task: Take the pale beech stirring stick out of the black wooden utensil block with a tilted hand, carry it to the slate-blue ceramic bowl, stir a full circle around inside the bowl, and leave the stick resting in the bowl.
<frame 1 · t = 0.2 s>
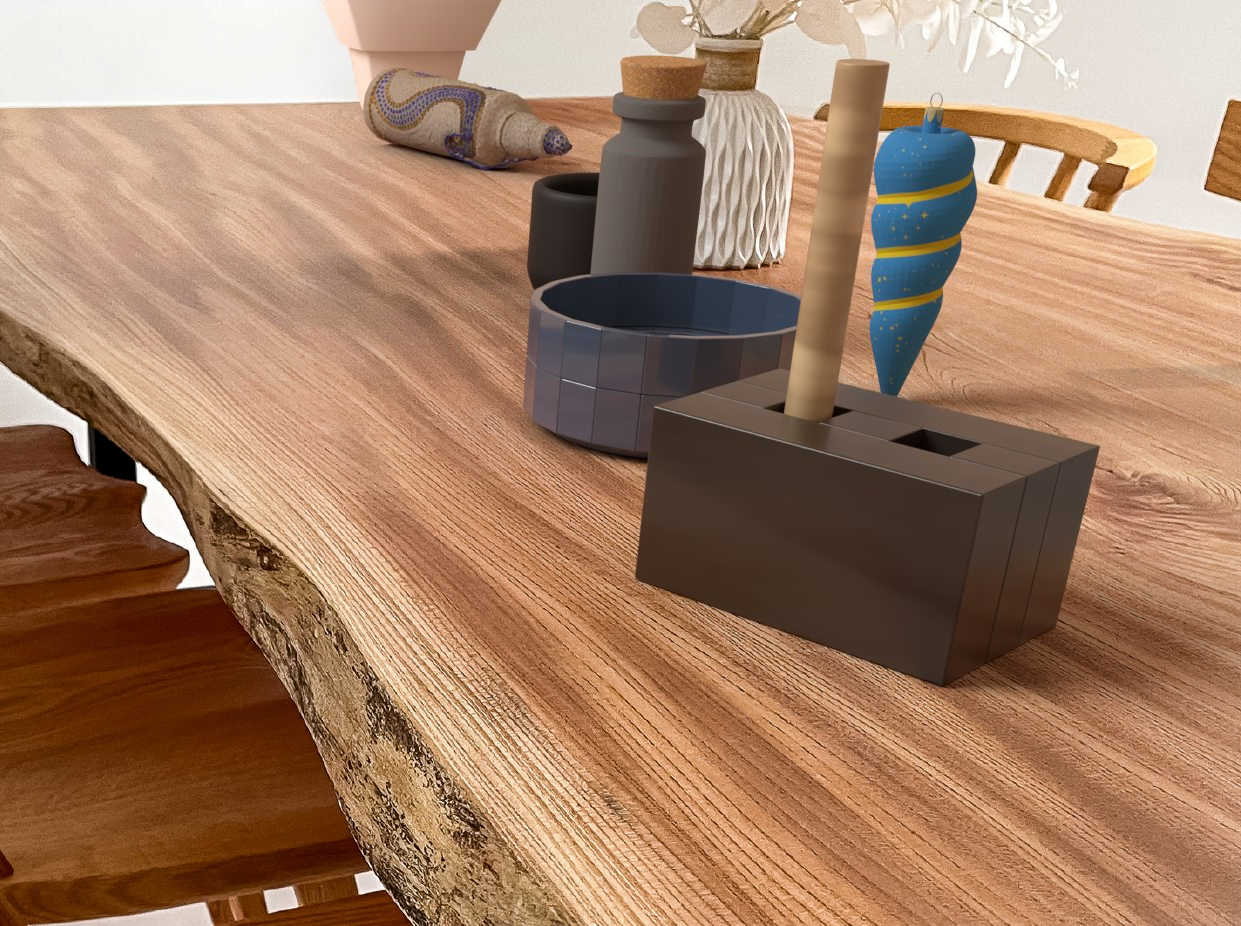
utensil block: (839, 602, 68), on the table
stirring stick: (781, 583, 70), resting in utensil block
bottle: (633, 341, 104), on the table, touching mug
decorative bottle: (457, 163, 158), on the table
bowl: (403, 121, 181), on the table
ornament: (884, 403, 93), on the table
mixing bowl: (661, 424, 89), on the table
mug: (598, 312, 110), on the table, touching bottle
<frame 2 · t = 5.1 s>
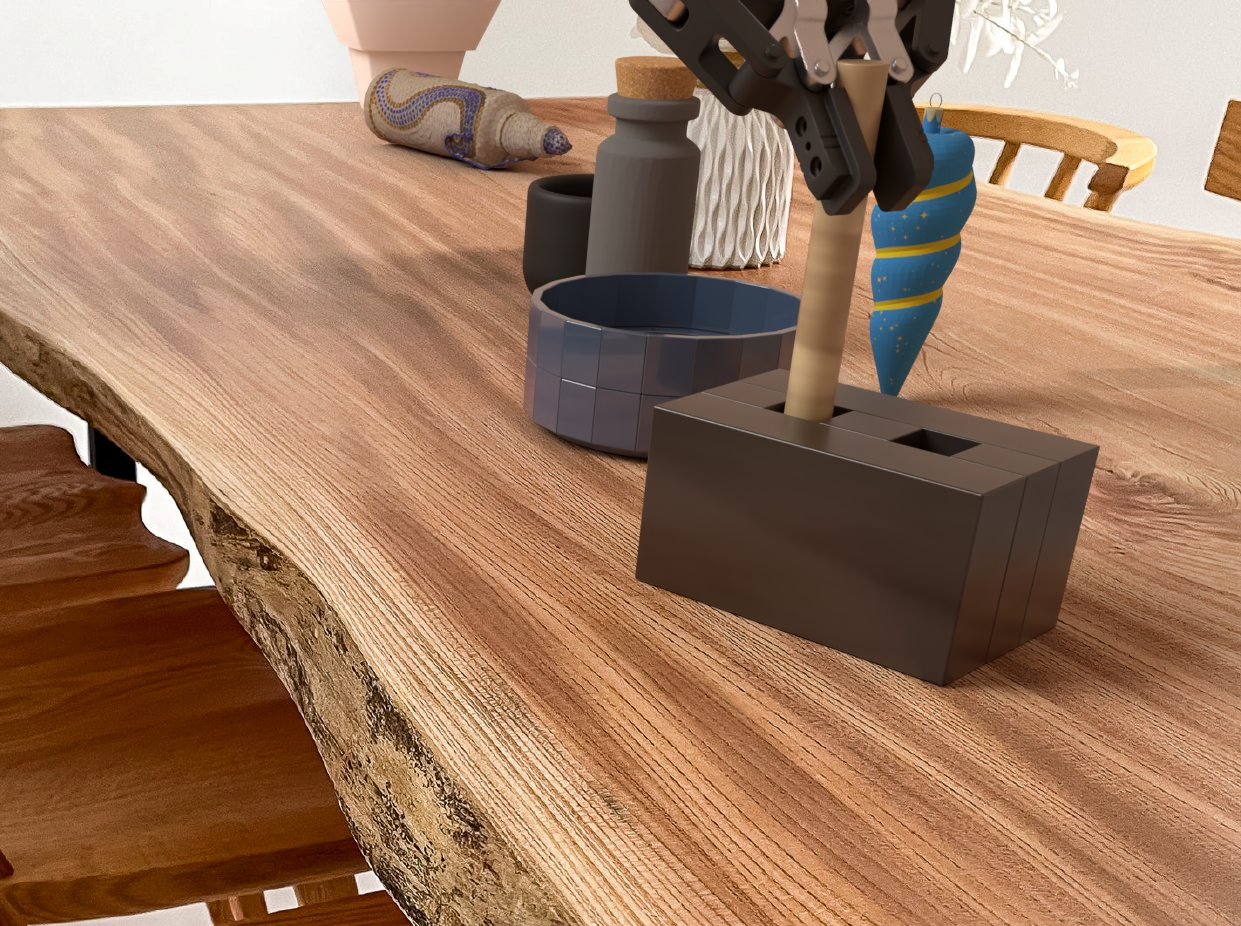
hand: (881, 197, 61), 15 cm above the table, tool tilted 45°, fingers closed on stirring stick, 2 cm apart
stirring stick: (781, 583, 70), resting in utensil block, touching gripper
bottle: (629, 342, 103), on the table, touching mug
mug: (594, 314, 110), on the table, touching bottle
everything else where it was.
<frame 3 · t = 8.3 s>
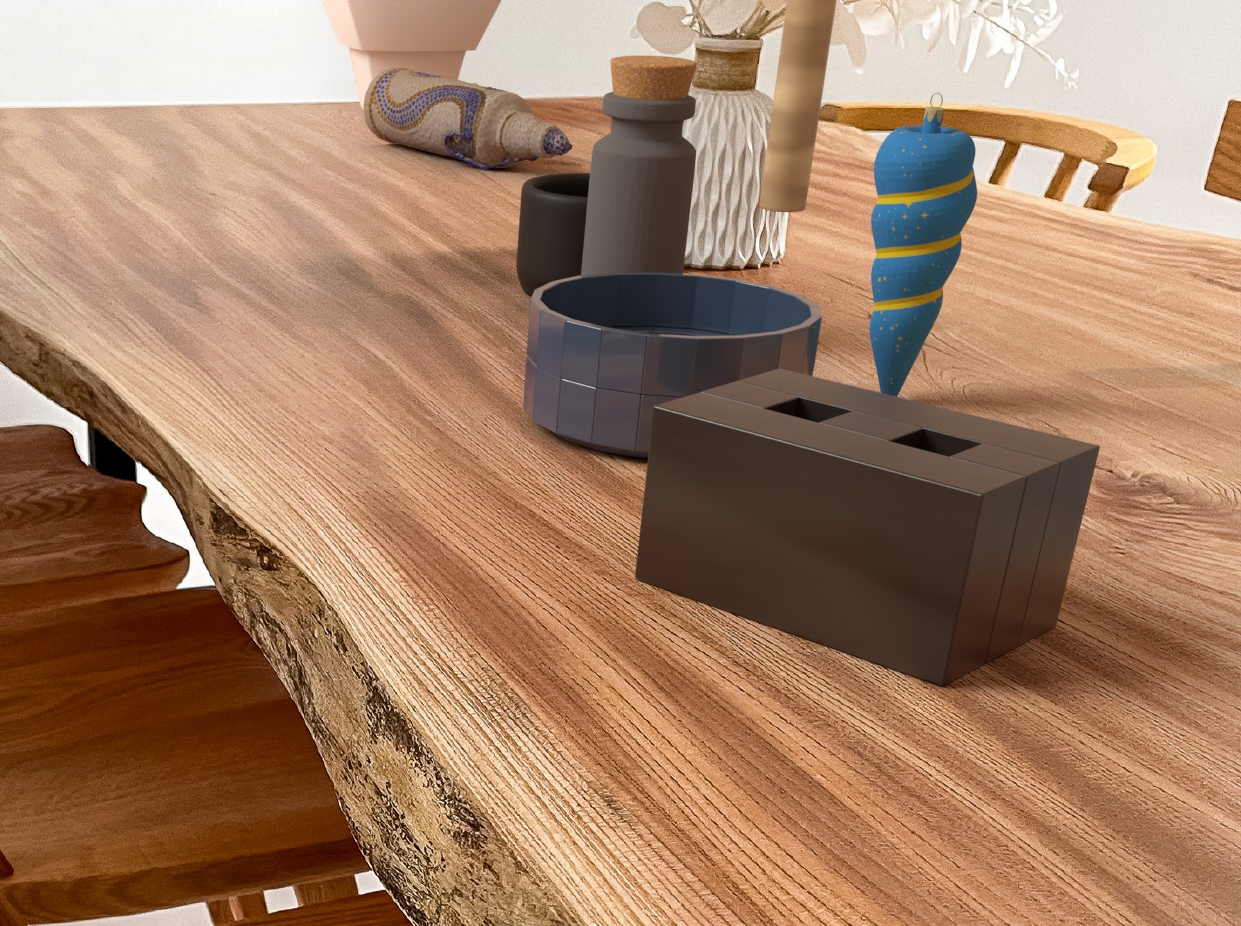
stirring stick: (781, 208, 69), point 13 cm above the table, touching gripper
bottle: (624, 341, 104), on the table, touching mug
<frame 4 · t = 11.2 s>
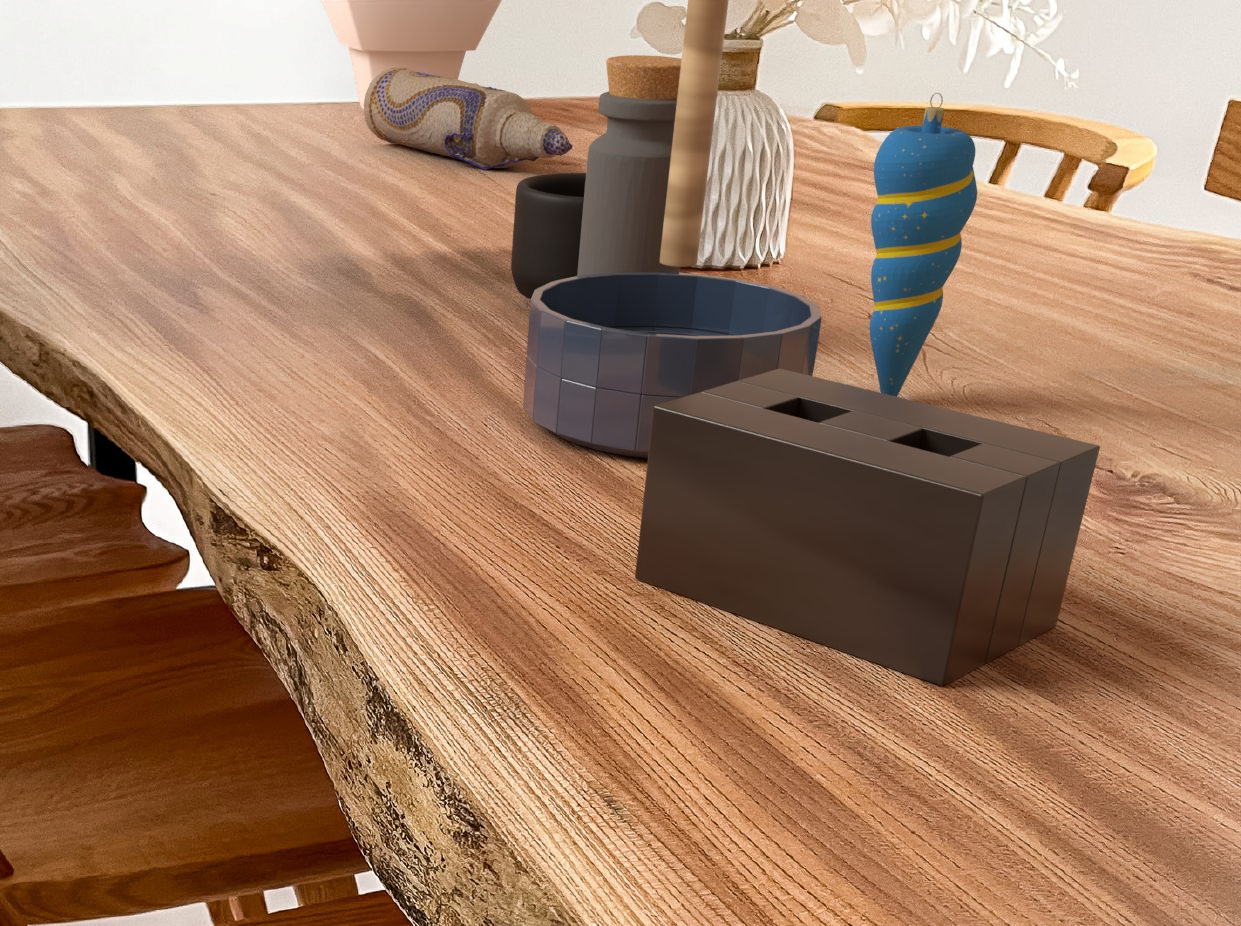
stirring stick: (678, 263, 85), point 8 cm above the table, touching gripper
bottle: (621, 341, 104), on the table, touching mug
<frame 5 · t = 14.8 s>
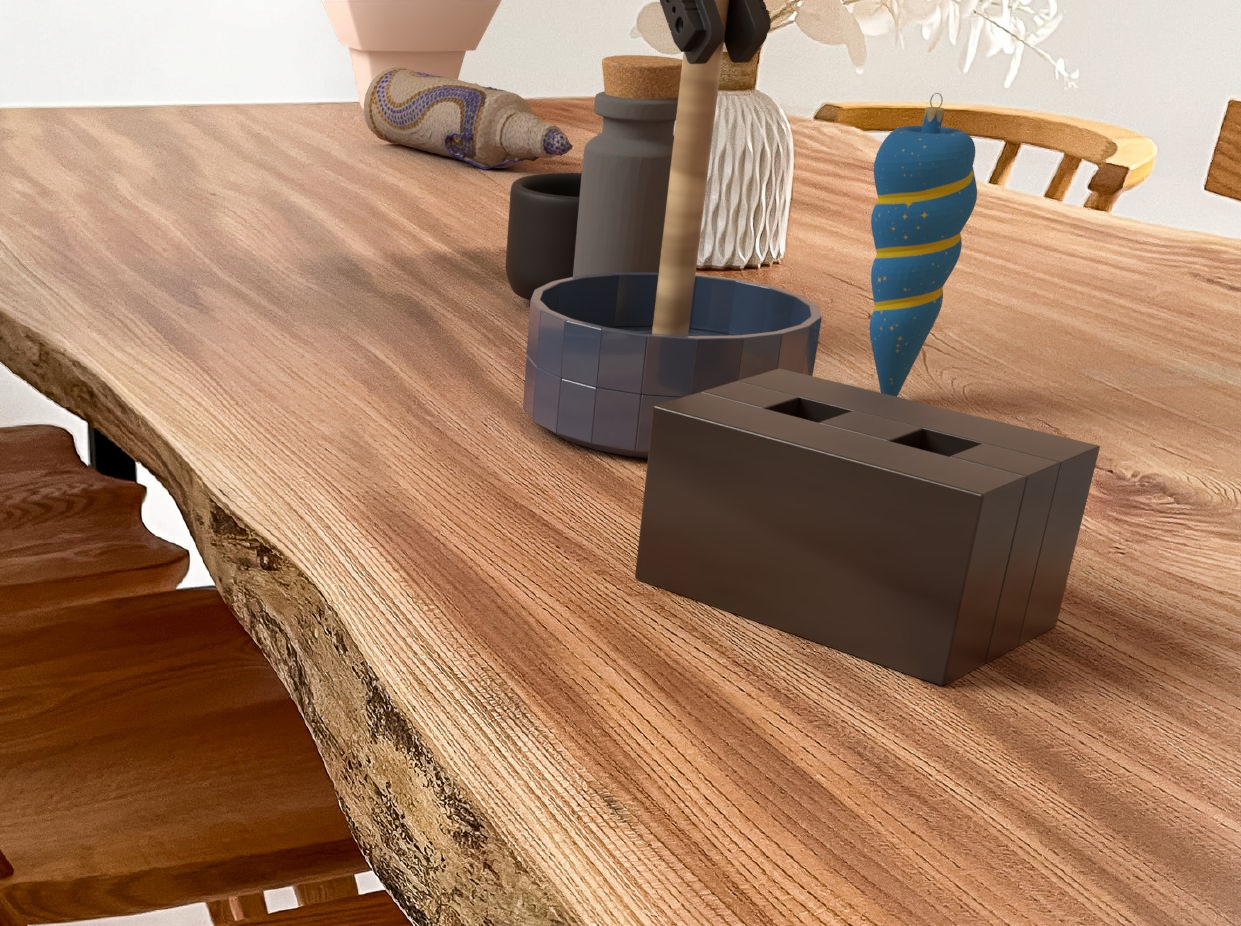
hand: (730, 50, 80), 17 cm above the table, tool tilted 45°, fingers closed on stirring stick, 2 cm apart
stirring stick: (666, 368, 89), point 2 cm above the table, touching gripper
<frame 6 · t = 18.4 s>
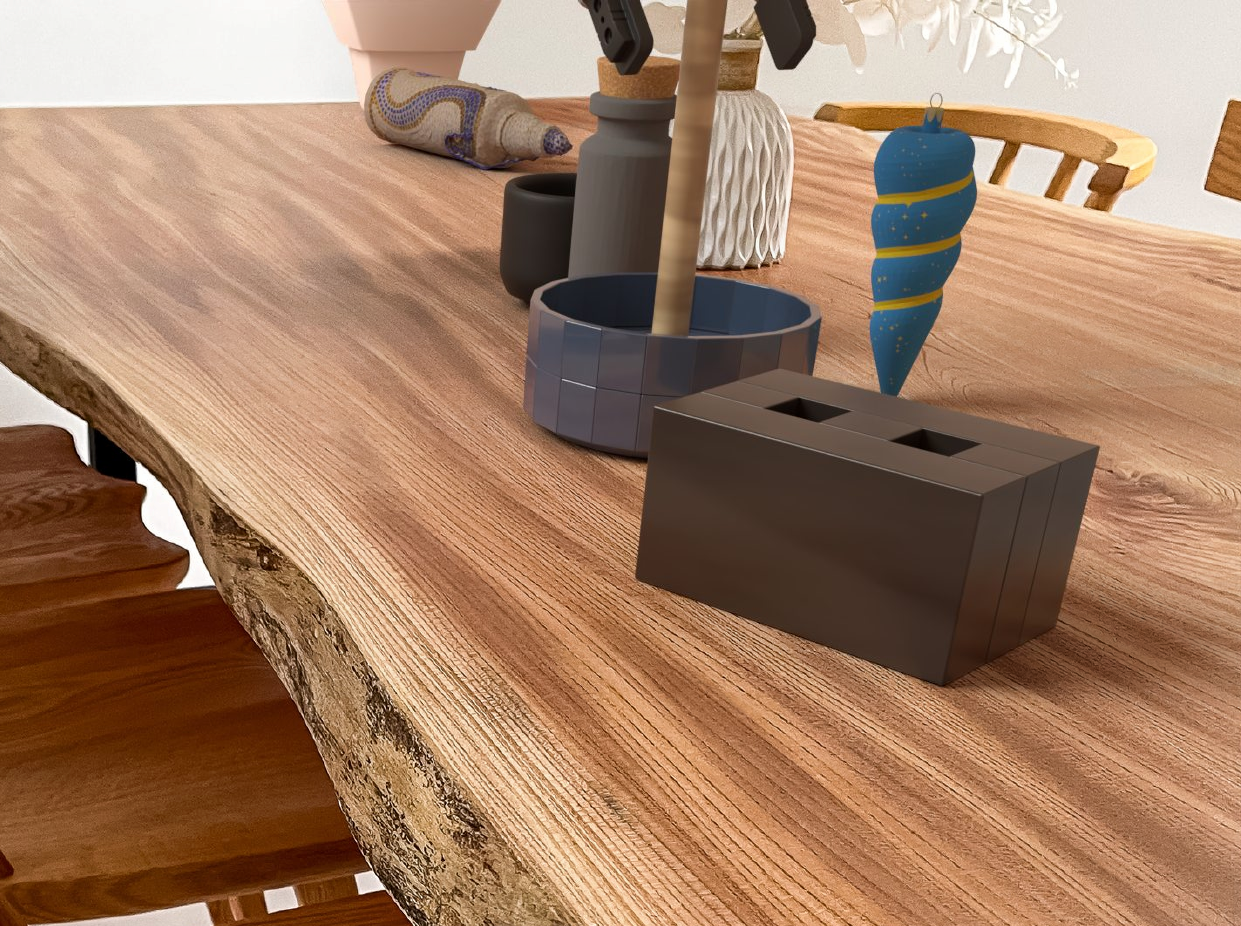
hand: (719, 60, 79), 17 cm above the table, tool tilted 45°, fingers open, 8 cm apart
stirring stick: (661, 412, 88), point 1 cm above the table, touching mixing bowl
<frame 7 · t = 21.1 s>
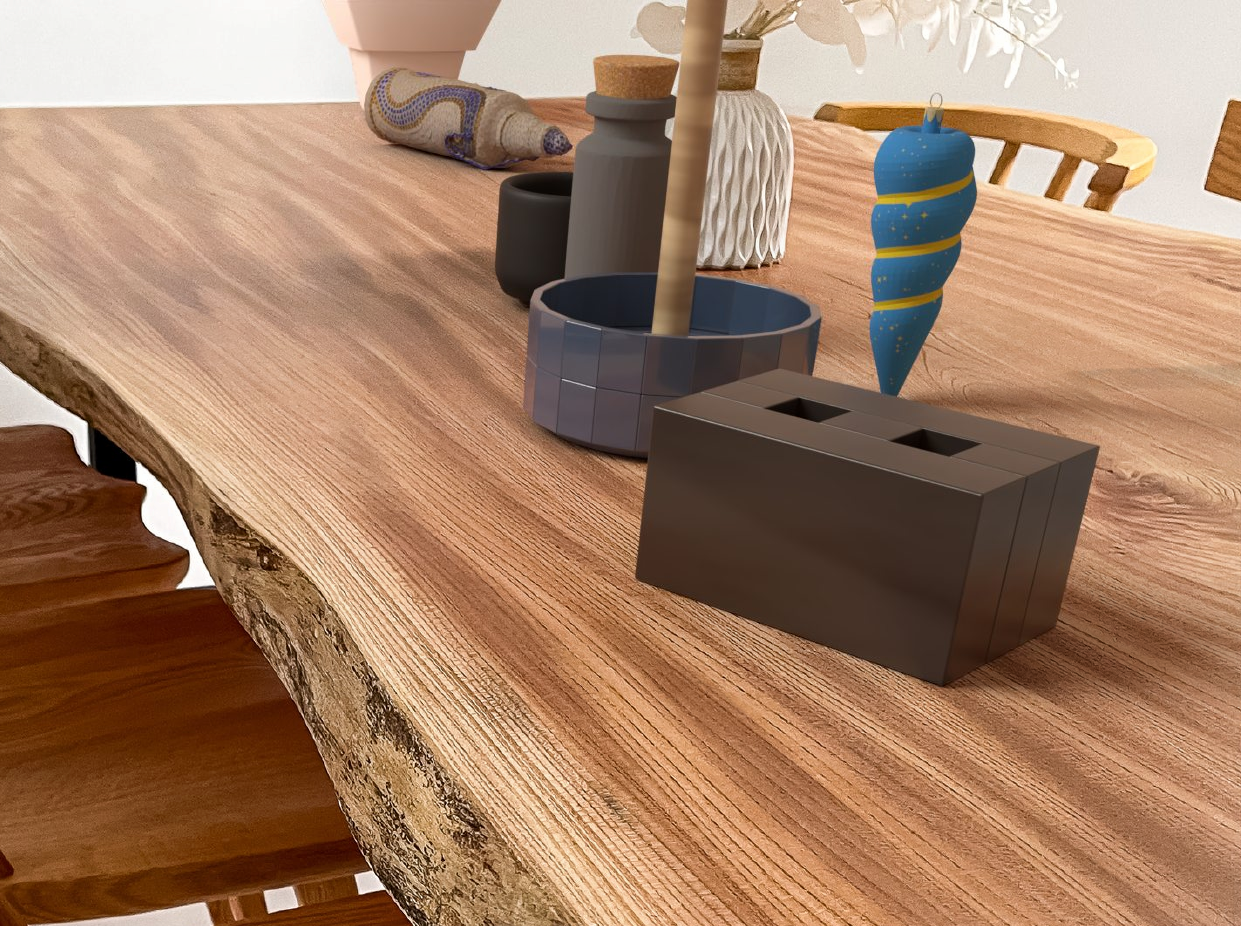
bottle: (608, 340, 104), on the table, touching mug
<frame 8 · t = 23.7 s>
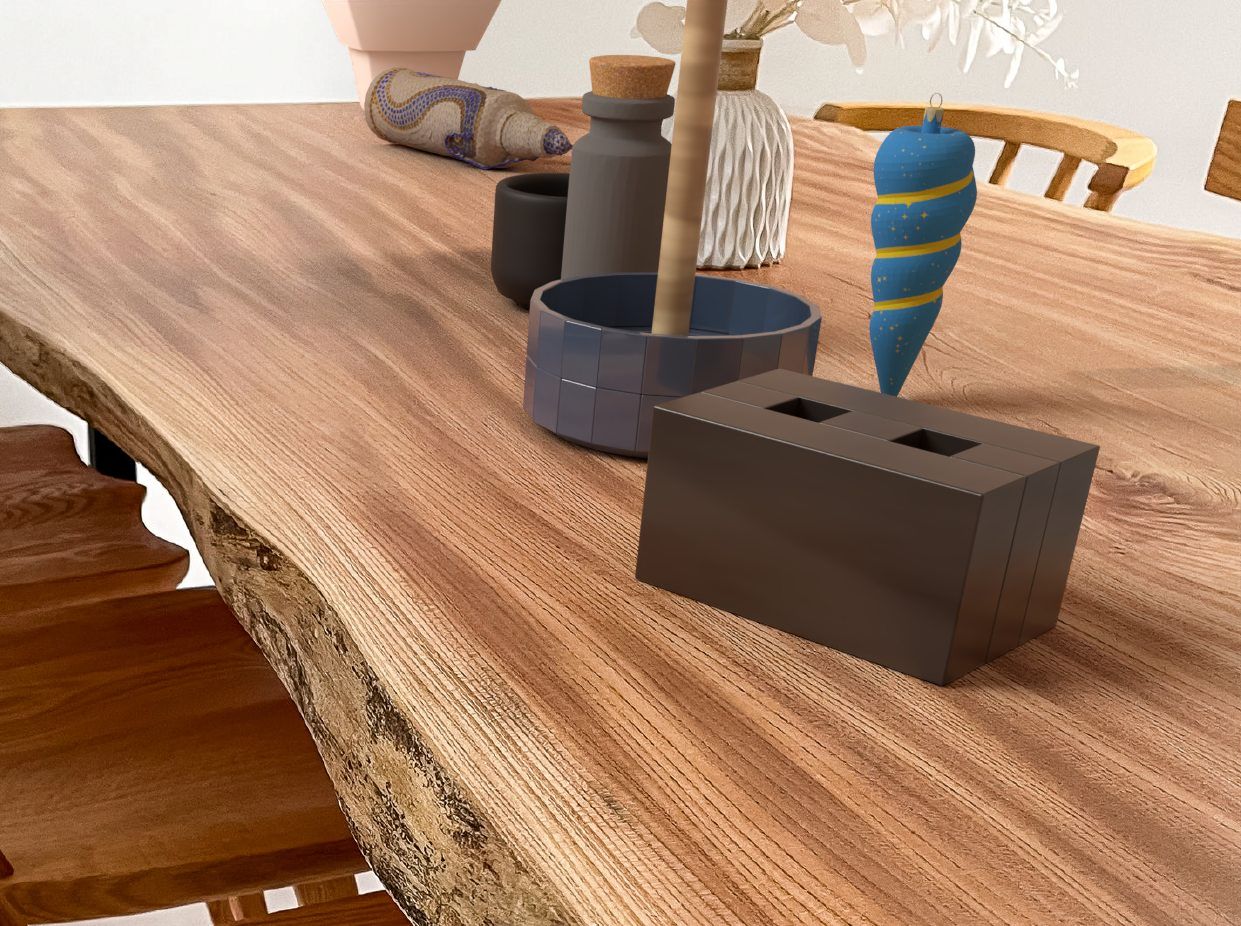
bottle: (605, 340, 104), on the table, touching mug
at the end: stirring stick inside the target area in the mixing bowl (0.1 cm from its centre), point 0.6 cm above the mixing bowl's base; stirring stick moved 21.9 cm from its start; the gripper is holding nothing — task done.
